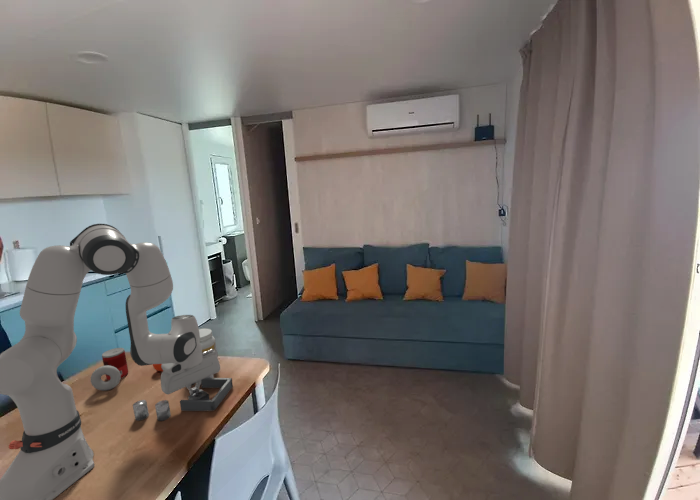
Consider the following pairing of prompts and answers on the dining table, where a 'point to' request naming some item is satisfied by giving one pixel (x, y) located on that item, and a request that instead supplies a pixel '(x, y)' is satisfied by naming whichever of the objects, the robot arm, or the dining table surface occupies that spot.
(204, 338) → the supplement tub
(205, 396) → the grey square block
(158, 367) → the clementine
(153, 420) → the dining table surface
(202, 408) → the tray
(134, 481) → the dining table surface
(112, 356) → the canned food
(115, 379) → the donut
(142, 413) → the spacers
